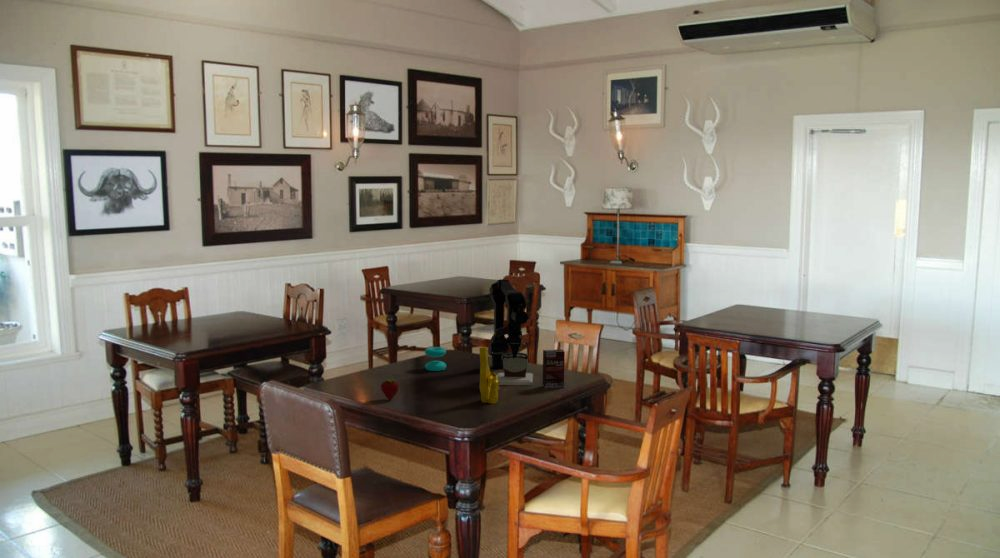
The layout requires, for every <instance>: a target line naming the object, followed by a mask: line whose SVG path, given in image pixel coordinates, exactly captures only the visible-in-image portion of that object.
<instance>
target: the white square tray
mask: <svg viewBox="0 0 1000 558" xmlns="http://www.w3.org/2000/svg"><path fill="white" fill-rule="evenodd" d="M496 375H497V380H498V386H532V385H534V381H533V380H534V373H532V372H526V377H504V372H498V373H496Z"/></svg>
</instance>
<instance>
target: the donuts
mask: <svg viewBox="0 0 1000 558" xmlns="http://www.w3.org/2000/svg"><path fill="white" fill-rule="evenodd" d="M446 353H447V349H446V348H444V347H442V346H431V347H427V348H426V349H425V350H424V354H425V355H426V356H427V357H431V358H440V357H444V356H445V355H446ZM424 368H425V370H426V371H429V372H442V371H444V370H446V369H447V363H445V361H441V360H430V361H428V362H427V363H425V365H424ZM441 370H442V371H441Z"/></svg>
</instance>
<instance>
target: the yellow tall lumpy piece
mask: <svg viewBox="0 0 1000 558" xmlns="http://www.w3.org/2000/svg"><path fill="white" fill-rule="evenodd" d="M479 362H480V364H479V365H480V367H479V391H480V398H481V403H484V404H485V403H488V404H493V405H494V403H495V404H496V403H498V400H499V392H498V391H499V390H500V389H501V387H500V385H498V380H497V373H494V372H493V371H491V367H490V365H489V355H488V347H487V346H481V347H479Z"/></svg>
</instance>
